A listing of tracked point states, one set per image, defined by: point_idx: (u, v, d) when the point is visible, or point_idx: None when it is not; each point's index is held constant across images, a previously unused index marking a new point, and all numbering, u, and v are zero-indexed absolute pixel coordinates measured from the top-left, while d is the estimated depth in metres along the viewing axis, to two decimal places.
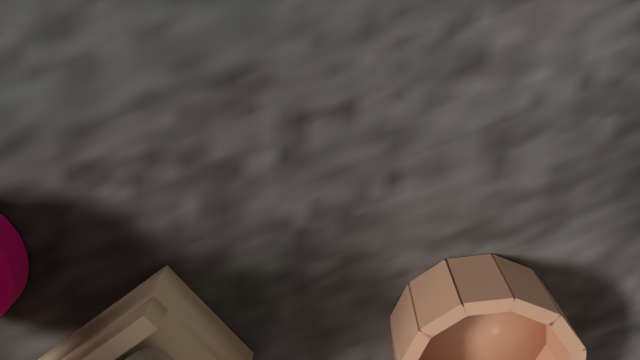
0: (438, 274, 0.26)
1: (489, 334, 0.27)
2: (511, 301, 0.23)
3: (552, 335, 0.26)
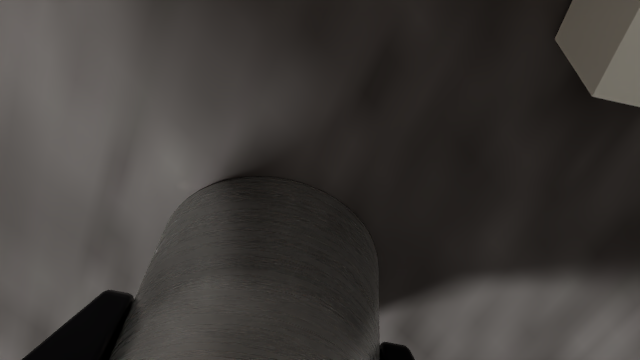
0: None
1: None
2: None
3: None
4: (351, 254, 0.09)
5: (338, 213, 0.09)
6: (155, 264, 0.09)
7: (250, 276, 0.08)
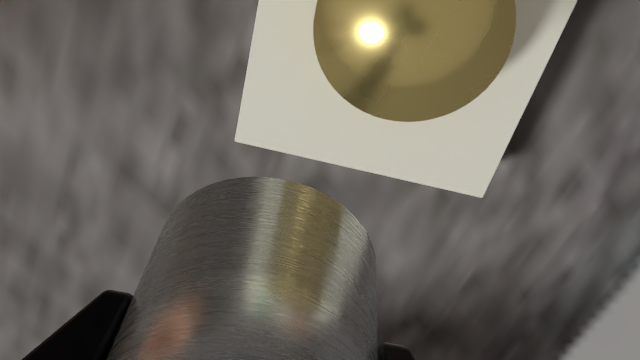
0: None
1: None
2: None
3: None
4: (348, 254, 0.09)
5: (336, 213, 0.09)
6: (152, 264, 0.09)
7: (248, 277, 0.08)
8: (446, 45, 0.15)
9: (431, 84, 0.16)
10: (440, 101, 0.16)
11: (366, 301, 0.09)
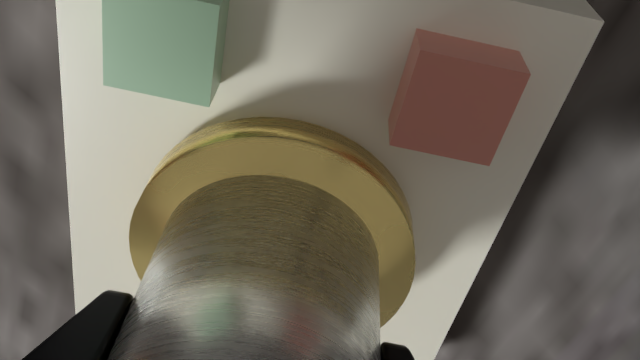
0: None
1: None
2: None
3: None
4: (351, 253, 0.09)
5: (339, 211, 0.09)
6: (155, 262, 0.09)
7: (251, 274, 0.08)
8: None
9: None
10: None
11: (369, 299, 0.09)
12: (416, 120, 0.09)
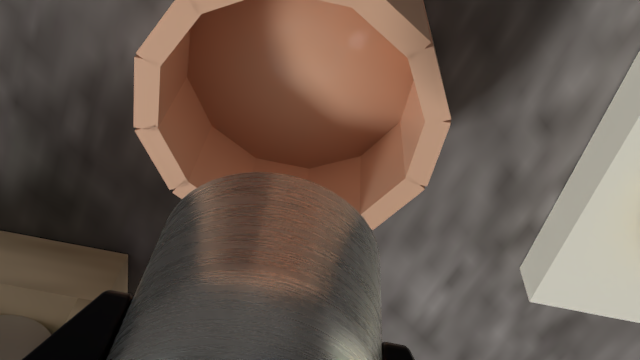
0: None
1: (314, 58, 0.16)
2: None
3: None
4: (352, 250, 0.09)
5: (340, 209, 0.09)
6: (155, 260, 0.09)
7: (251, 271, 0.07)
8: None
9: None
10: None
11: (370, 297, 0.09)
12: None
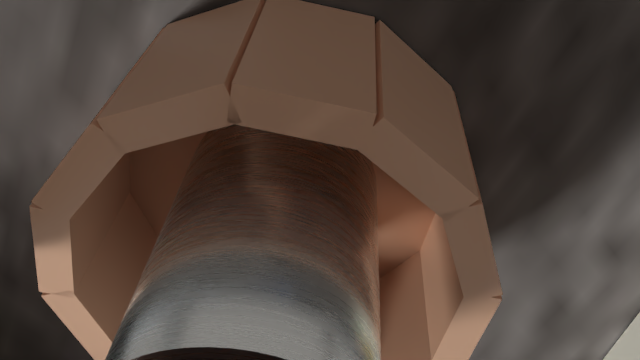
0: None
1: None
2: (100, 132, 0.08)
3: None
4: (353, 166, 0.10)
5: None
6: (190, 173, 0.10)
7: (273, 172, 0.09)
8: None
9: None
10: None
11: (368, 204, 0.10)
12: None
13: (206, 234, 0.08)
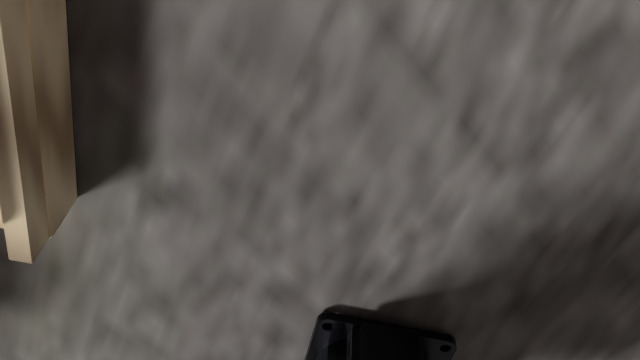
0: None
1: None
2: None
3: None
4: None
5: None
6: None
7: None
8: None
9: None
10: None
11: None
12: None
13: None
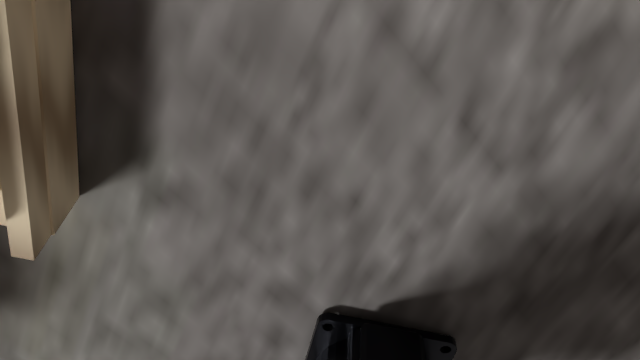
0: None
1: None
2: None
3: None
4: None
5: None
6: None
7: None
8: None
9: None
10: None
11: None
12: None
13: None
